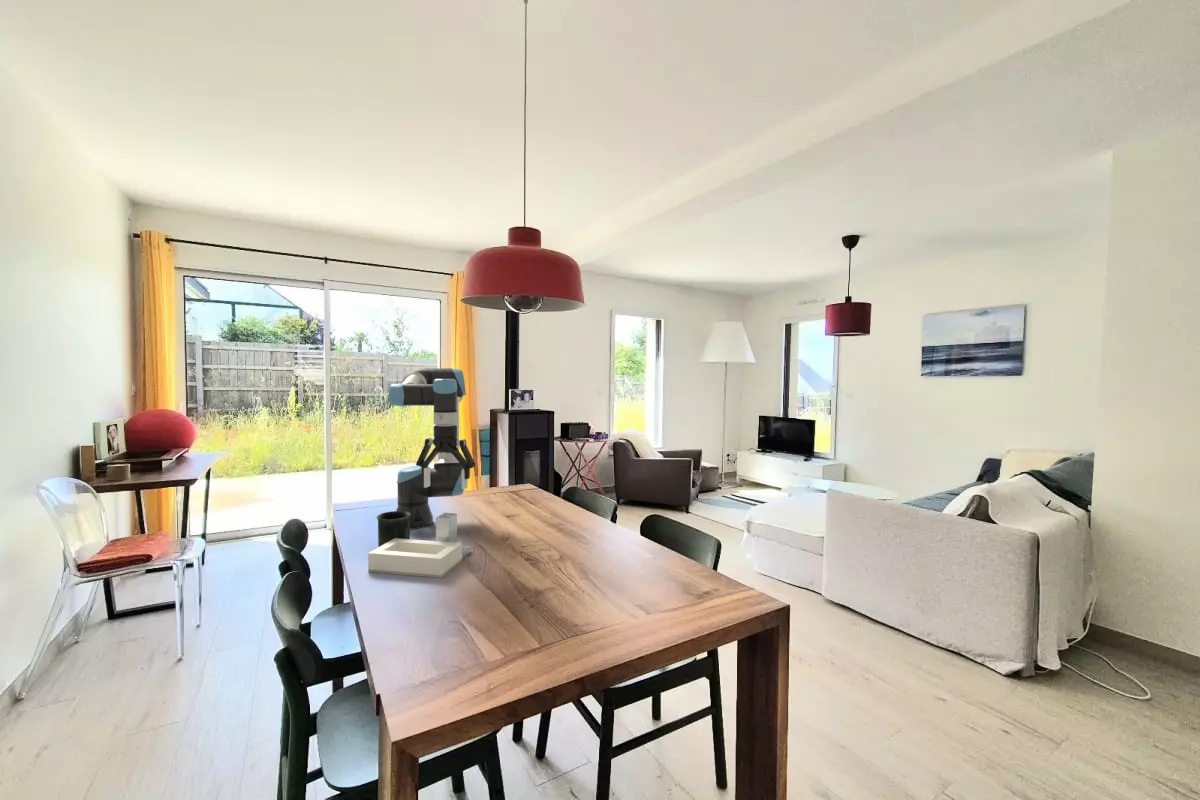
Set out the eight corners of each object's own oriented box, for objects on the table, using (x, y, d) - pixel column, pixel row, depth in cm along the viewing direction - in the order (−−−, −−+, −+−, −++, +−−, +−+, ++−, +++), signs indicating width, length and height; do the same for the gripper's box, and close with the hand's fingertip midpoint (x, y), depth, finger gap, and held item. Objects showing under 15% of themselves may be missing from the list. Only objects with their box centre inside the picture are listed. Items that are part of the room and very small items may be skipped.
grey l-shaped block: (444, 549, 169) (444, 512, 169) (470, 551, 168) (470, 514, 167) (436, 556, 163) (435, 517, 163) (462, 558, 162) (462, 519, 161)
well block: (395, 555, 164) (394, 538, 163) (462, 560, 160) (462, 543, 159) (368, 571, 150) (368, 553, 150) (441, 577, 146) (440, 558, 145)
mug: (386, 557, 162) (385, 521, 161) (367, 547, 171) (366, 513, 171) (417, 549, 170) (416, 515, 169) (397, 539, 179) (396, 507, 179)
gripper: (404, 425, 162) (405, 488, 163) (475, 426, 158) (475, 492, 159) (417, 422, 169) (417, 483, 170) (485, 424, 165) (485, 486, 166)
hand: (445, 487), depth 165 cm, fingers open, 13 cm apart
